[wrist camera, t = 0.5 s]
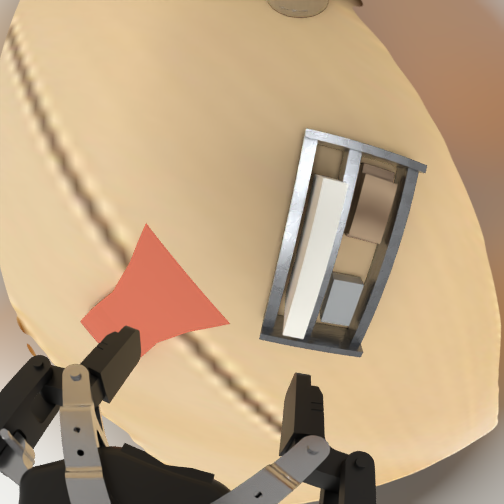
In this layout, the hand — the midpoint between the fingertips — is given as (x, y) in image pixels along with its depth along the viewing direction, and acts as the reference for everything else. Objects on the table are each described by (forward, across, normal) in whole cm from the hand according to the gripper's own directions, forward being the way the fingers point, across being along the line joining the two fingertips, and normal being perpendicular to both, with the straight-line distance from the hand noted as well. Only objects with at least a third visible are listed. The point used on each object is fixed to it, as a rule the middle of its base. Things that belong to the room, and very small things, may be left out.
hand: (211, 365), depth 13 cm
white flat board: (+28, -6, 0) cm, 28 cm away
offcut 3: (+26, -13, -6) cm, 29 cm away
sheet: (+28, +18, +19) cm, 38 cm away
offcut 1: (+28, -13, +8) cm, 32 cm away
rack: (+28, -10, 0) cm, 29 cm away
